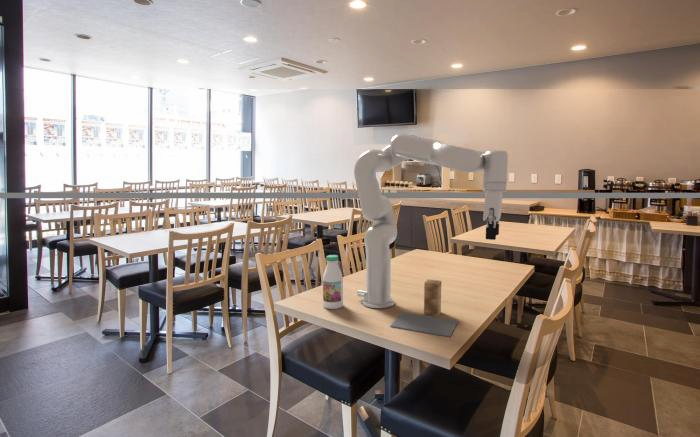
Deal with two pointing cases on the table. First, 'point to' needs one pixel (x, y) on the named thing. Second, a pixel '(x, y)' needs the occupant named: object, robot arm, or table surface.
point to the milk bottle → (332, 284)
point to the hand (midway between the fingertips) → (492, 237)
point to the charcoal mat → (425, 324)
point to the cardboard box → (432, 297)
